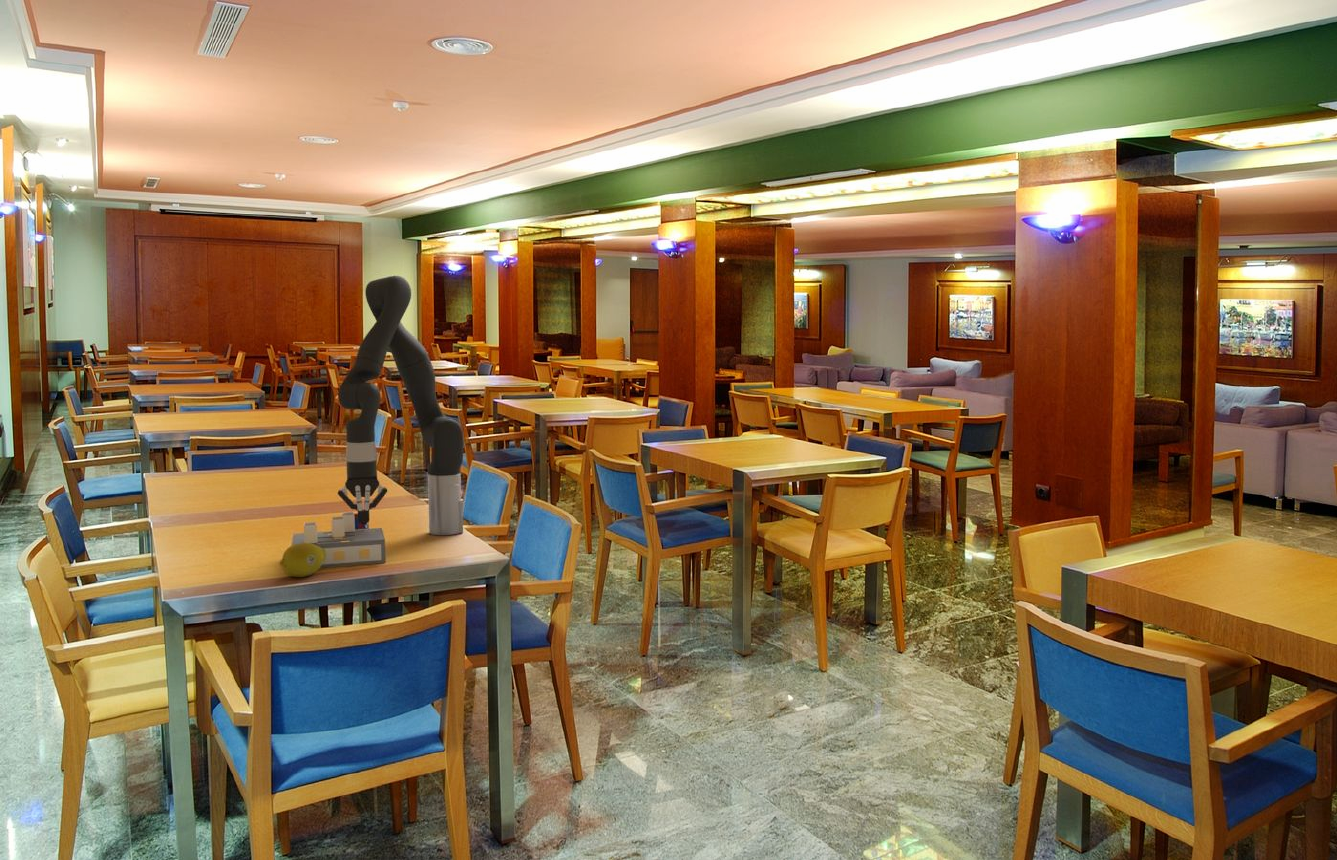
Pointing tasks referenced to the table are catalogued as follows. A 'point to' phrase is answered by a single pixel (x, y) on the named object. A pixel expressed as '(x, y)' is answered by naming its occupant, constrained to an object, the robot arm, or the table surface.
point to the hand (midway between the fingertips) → (363, 524)
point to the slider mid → (338, 527)
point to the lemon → (302, 559)
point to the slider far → (349, 521)
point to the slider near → (310, 532)
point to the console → (350, 547)
